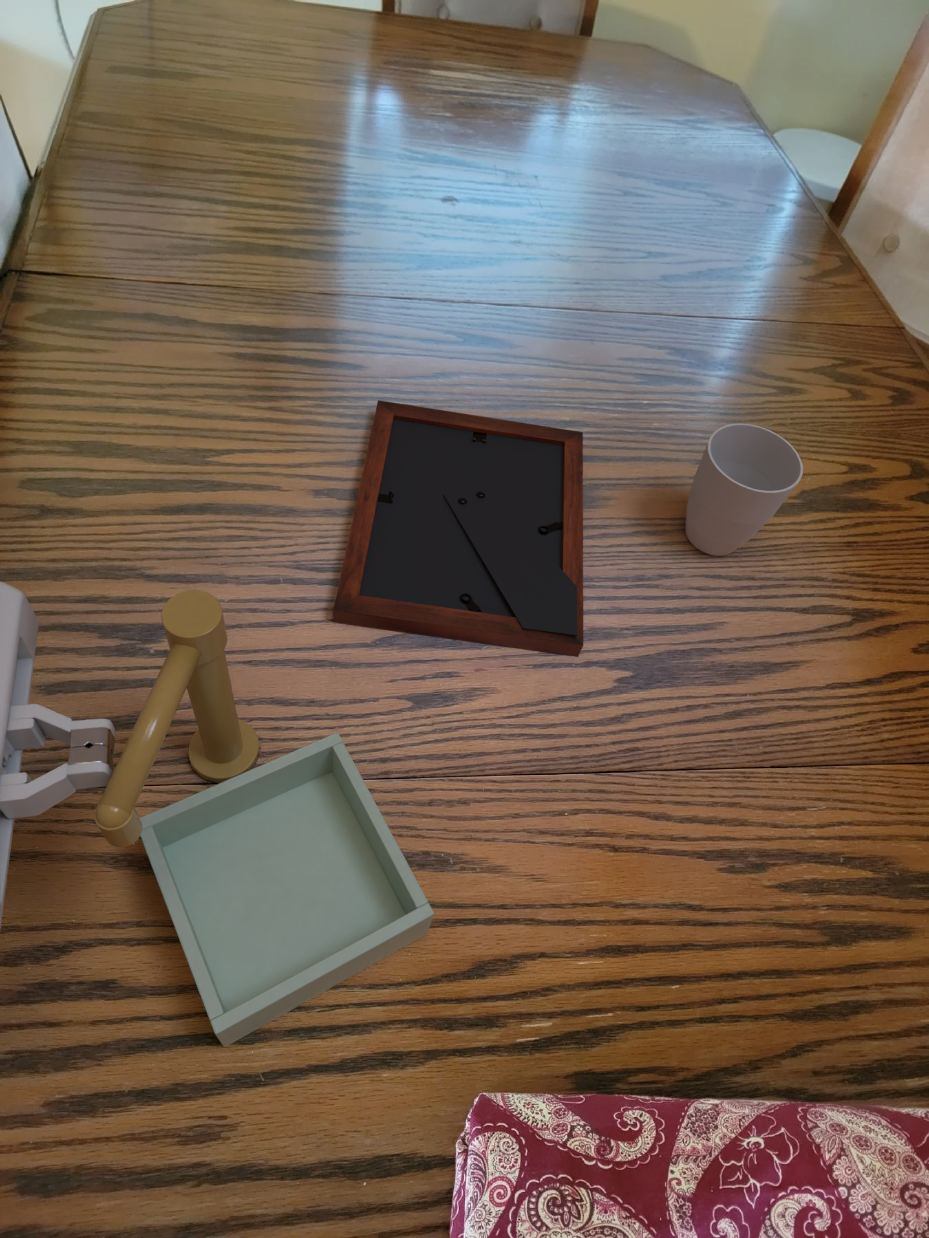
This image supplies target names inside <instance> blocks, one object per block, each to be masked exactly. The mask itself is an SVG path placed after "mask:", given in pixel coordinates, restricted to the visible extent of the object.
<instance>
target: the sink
mask: <svg viewBox="0 0 929 1238" xmlns="http://www.w3.org/2000/svg"><path fill="white" fill-rule="evenodd" d="M139 818H140V820H141V822H142V833H141V835H140V839H141V842H142V844H143V847H144V849H145V852H146V855H147V858H148V860H149V863H150V865H151V869H152V871H153V874H154V876H155V879H156V882H157V884H158V887H159V890H160V893H161V895H162V897H163V901H164V904H165V906H166V908H167V911H168V913H169V916H170V919H171V921H172V924H173V927H174V928H175V933H176V935H177V937H178V941H179V943H180V945H181V948H182V951H183V953H184V956H185V959H186V961H187V964H188V967H189V969H190V972H191V975H192V977H193V979H194V983H195V985H196V988H197V990H198V994H199V996H200V998H201V1002H202V1004H203V1007H204V1009H205V1012H206V1014H207V1017H208V1019H209V1020H208V1021H210V1025H211V1028H212V1030H213V1033H214V1034H215V1036H216V1038H217V1040H218V1041H219V1042H220V1044H221V1045H222V1047H223V1048H226V1047H229V1046H230V1045H232V1044H233V1043H236V1042H237V1041H238V1040H241V1039H242V1038H244V1037H246V1036H248V1035H249V1034H251V1033H253V1032H255V1031H257V1030H258V1029H260V1028H263V1027H264V1026H266V1025H267V1024H269V1023H271V1022H272V1021H274V1020H276V1019H278V1018H280V1017H282V1016H283V1015H286V1014H287V1013H289V1012H290V1011H293V1010H294V1009H296V1008H298V1007H300V1006H301V1005H304V1004H305V1003H307V1002H309V1001H310V1000H312V999H314V998H316V997H317V996H319V995H321V994H322V993H325V992H326V991H328V990H331V988H333V987H335V986H337V985H339V984H340V983H342V982H345V981H346V980H348V979H350V978H351V977H353V976H355V975H357V974H359V973H360V972H362V971H364V970H366V969H368V968H369V967H371V966H373V965H375V964H376V963H378V962H380V961H382V960H383V959H385V958H387V957H389V956H391V955H393V954H394V953H396V952H398V951H400V950H402V949H404V948H405V947H407V946H408V945H411V944H413V943H414V942H416V941H418V940H419V939H421V938H423V937H425V936H427V935H428V933H429V931H430V927H431V924H432V922H433V920H434V916H435V912H434V910H433V908H432V906H431V904H430V903H429V901H428V898H427V896H426V895H425V893H424V891H423V889H422V888H421V886H420V883H419V881H418V880H417V878H416V876H415V874H414V873H413V871H412V869H411V867H410V865H409V863H408V861H407V859H406V857H405V856H404V853H403V852H402V850H401V848H400V846H399V844H398V842H397V840H396V839H395V837H394V835H393V833H392V832H391V829H390V827H389V826H388V824H387V822H386V820H385V818H384V816H383V814H382V813H381V811H380V808H379V807H378V805H377V802H376V801H375V799H374V798H373V796H372V794H371V792H370V789H369V788H368V786H367V784H366V782H365V781H364V778H363V776H362V775H361V773H360V771H359V769H358V767H357V766H356V764H355V762H354V760H353V758H352V756H351V754H350V752H349V750H348V749H347V747H346V745H345V743H344V742H343V739H342V737H341V735H340V734H339V732H338V731H337V732H335V733H333V734H330V735H328V736H326V737H323V738H321V739H319V740H316V741H314V742H312V743H309V744H307V745H305V746H302V747H300V748H298V749H296V750H293V751H290V752H288V753H287V754H284V755H281V756H280V757H277V758H275V759H273V760H270V761H267V762H265V763H264V764H261V765H258V766H257V767H253V768H252V769H251V770H249V771H247V772H245V773H243V774H240V775H238V776H236V777H233V778H231V779H229V780H226V781H224V782H222V783H217V784H215V785H213V786H210V787H208V788H205V789H204V790H201V791H199V792H196V793H195V794H192V795H190V796H188V797H185V798H183V799H181V800H178V801H176V802H174V803H171V804H169V805H166V806H164V807H163V808H160V809H157V810H155V811H153V812H150V813H148V814H146V815H143V816H141V817H139Z"/></svg>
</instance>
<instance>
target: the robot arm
mask: <svg viewBox="0 0 929 1238" xmlns="http://www.w3.org/2000/svg"><path fill="white" fill-rule="evenodd" d="M39 627H40V624H39V620H38V618H37V615H36V614H35V611H34V608H33V607H32V605H31V603H30V602H29V600H28V598H27V596H26V595H25V593H24V592H23V591H21V590H20V589H19V588H16V587H14V586H13V585H11V584H9V583H8V582H4V581H0V931H1V929H2V921H3V914H4V913H3V912H4V906H5V899H6V898H5V896H6V888H7V882H8V881H7V880H8V873H9V866H10V858H11V851H12V842H13V841H12V840H13V834H14V825H15V819H21V818H31V817H38V816H40V815H41V814H43V813H45V812H46V811H48V810H50V809H51V808H53V807H55V806H56V805H57V804H59V803H61V802H62V801H64V800H65V799H67V798H69V797H70V796H72V795H73V794H75V793H76V792H77V790H84V789H95V788H104V787H107V784H108V782H109V780H110V778H111V776H112V774H113V771H114V766H115V765H114V762H115V744H116V732H117V731H116V728H115V726H114V724H113V721H112V720H110V719H108V718H91V719H79V720H78V719H77V720H73V718H72V717H69V716H67V715H64V714H61V713H60V712H58V711H55V710H53V709H51V708H48V707H45V706H43V705H41V704H38V703H30V699H31V689H32V683H33V675H34V666H35V659H36V651H37V645H38V644H37V643H38V634H39ZM46 737H47V738H49V739H53V740H55V741H58V742H61V743H63V744H65V745H69V750H68V751H69V752H68V759H67V762H65V763H63V764H61V765H59V766H58V767H56V768H54V769H52V770H50V771H48V772H46V773H44V774H43V775H40V776H39V777H37V778H34V779H32V778H31V777H30V776H29V774H28V773H27V772H21V770H22V762H23V754H24V750H29V749H36V748H37V749H39V748H44V747H45V745H46V740H47V738H46Z"/></svg>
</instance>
